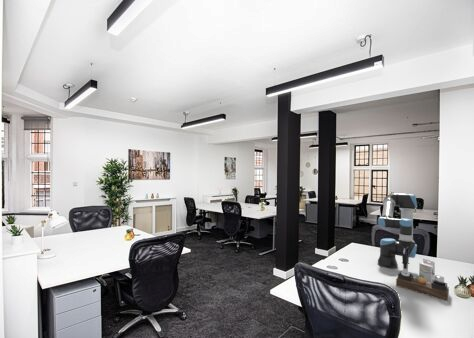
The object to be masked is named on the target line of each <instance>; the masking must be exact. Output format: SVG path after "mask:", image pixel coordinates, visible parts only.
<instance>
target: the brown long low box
mask: <svg viewBox="0 0 474 338" xmlns="http://www.w3.org/2000/svg"><path fill="white" fill-rule="evenodd" d="M401 272H402V271H399V272H398V274H397V278H395V283H396V284H395V286H396V287H399V288H402V289H406V290H409V291H412V292H416V293H419V294H422V293H423V295H425V296H430V297H433V298H437V299H441V300H444V301H447V302H448V301H449V300H448V299H449V295H450V289H449V288H450V287H449V286H448V283H447V282H444V284H437V283H435V280H432V282H429V281H427V280H426V284H421V283H419V282H418V278H416V277H414V275H413V274H412V273H410V277H408V276H404V275H401Z"/></svg>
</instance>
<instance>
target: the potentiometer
mask: <svg viewBox="0 0 474 338" xmlns="http://www.w3.org/2000/svg"><path fill="white" fill-rule="evenodd" d="M417 279H418V282H419V283H421V284H426V281H427V280H426V279H425V278H422V277H417Z"/></svg>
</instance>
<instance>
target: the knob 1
mask: <svg viewBox="0 0 474 338" xmlns="http://www.w3.org/2000/svg"><path fill="white" fill-rule="evenodd" d="M410 274H411V273H410V272H408V274H407V273H403V271H401V275H404V276H408V277H410Z"/></svg>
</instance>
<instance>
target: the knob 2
mask: <svg viewBox="0 0 474 338" xmlns="http://www.w3.org/2000/svg"><path fill="white" fill-rule="evenodd" d="M435 283H437V284H444V283H445V277H444V276H442V275H438V274H435Z"/></svg>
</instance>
